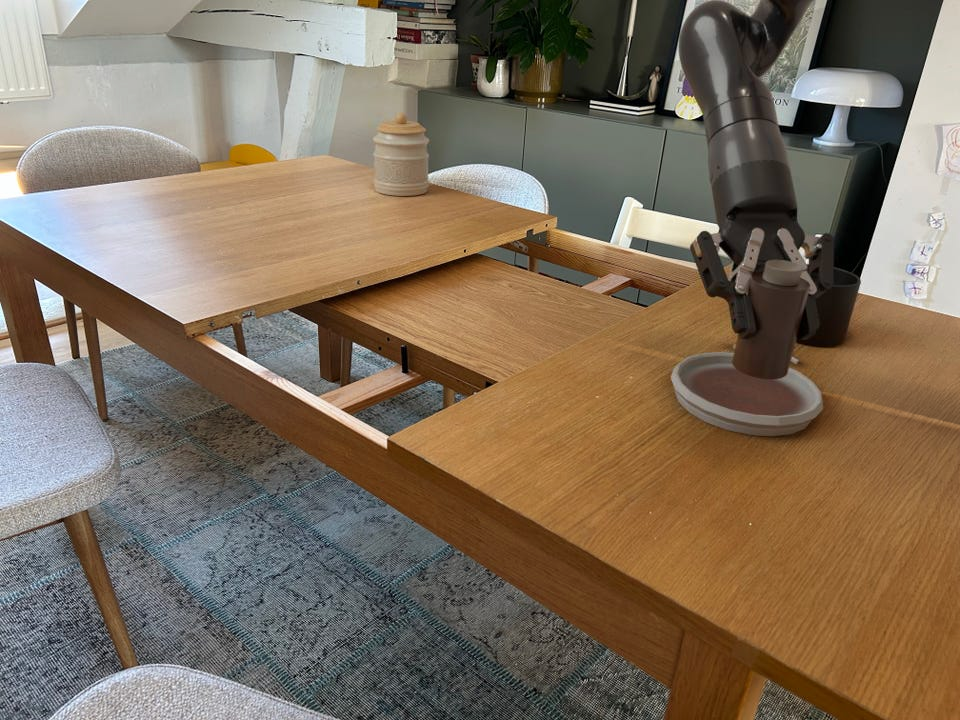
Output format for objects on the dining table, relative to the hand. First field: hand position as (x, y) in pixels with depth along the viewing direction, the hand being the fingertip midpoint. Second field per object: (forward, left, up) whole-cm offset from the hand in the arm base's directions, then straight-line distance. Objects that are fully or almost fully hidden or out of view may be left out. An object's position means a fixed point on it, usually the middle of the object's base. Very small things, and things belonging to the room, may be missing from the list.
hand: (778, 335), depth 68 cm
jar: (+94, -76, -14) cm, 122 cm away
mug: (0, -40, -14) cm, 42 cm away
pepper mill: (+1, -1, -4) cm, 5 cm away
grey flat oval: (+3, -19, -14) cm, 24 cm away
